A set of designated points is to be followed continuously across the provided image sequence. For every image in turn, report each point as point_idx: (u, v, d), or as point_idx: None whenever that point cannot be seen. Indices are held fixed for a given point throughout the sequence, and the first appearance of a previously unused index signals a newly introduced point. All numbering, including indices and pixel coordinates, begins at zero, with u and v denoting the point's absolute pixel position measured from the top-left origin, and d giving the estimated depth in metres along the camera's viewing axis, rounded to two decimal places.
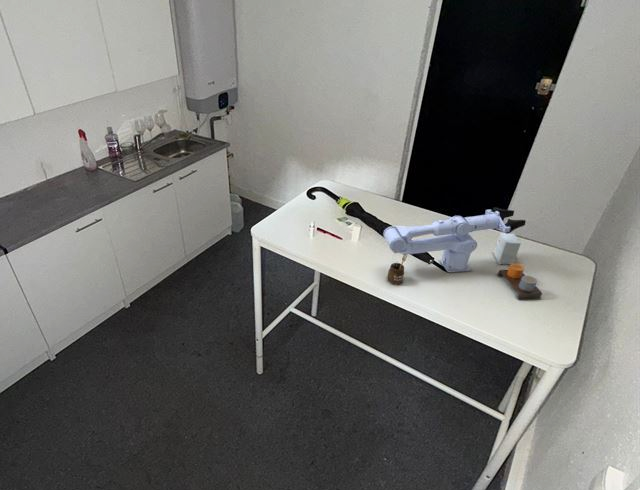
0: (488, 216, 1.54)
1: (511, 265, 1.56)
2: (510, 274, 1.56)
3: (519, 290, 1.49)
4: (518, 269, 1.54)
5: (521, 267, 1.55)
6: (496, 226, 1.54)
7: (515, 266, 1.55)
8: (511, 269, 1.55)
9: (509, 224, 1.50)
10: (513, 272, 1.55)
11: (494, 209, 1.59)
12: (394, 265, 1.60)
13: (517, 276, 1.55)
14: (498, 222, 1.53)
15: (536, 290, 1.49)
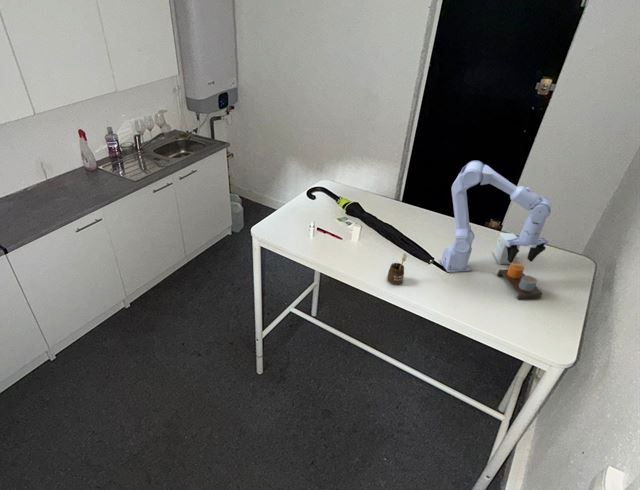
0: (533, 237, 1.44)
1: (511, 265, 1.56)
2: (510, 274, 1.56)
3: (519, 290, 1.49)
4: (518, 269, 1.54)
5: (521, 267, 1.55)
6: (519, 238, 1.49)
7: (515, 266, 1.55)
8: (511, 269, 1.55)
9: (512, 248, 1.48)
10: (513, 272, 1.55)
11: (542, 247, 1.48)
12: (394, 265, 1.60)
13: (517, 276, 1.55)
14: (521, 241, 1.47)
15: (536, 290, 1.49)
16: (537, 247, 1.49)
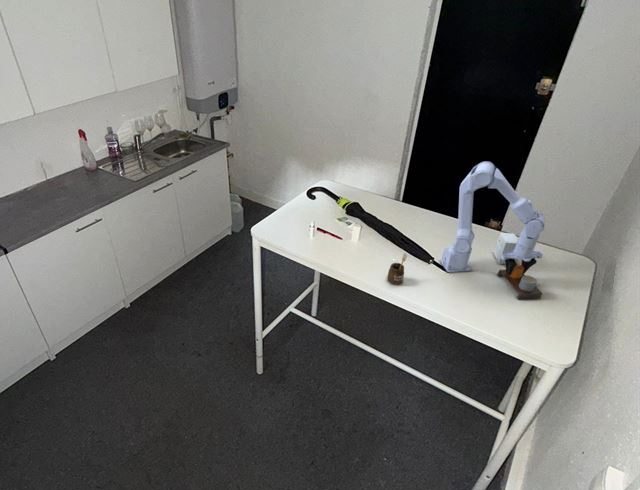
0: (528, 251, 1.48)
1: None
2: None
3: (519, 290, 1.49)
4: (518, 269, 1.54)
5: (521, 267, 1.55)
6: (514, 251, 1.52)
7: (515, 266, 1.55)
8: None
9: (510, 261, 1.52)
10: (513, 272, 1.55)
11: (533, 261, 1.51)
12: (394, 265, 1.60)
13: (517, 276, 1.55)
14: (516, 255, 1.51)
15: (536, 290, 1.49)
16: (528, 261, 1.52)
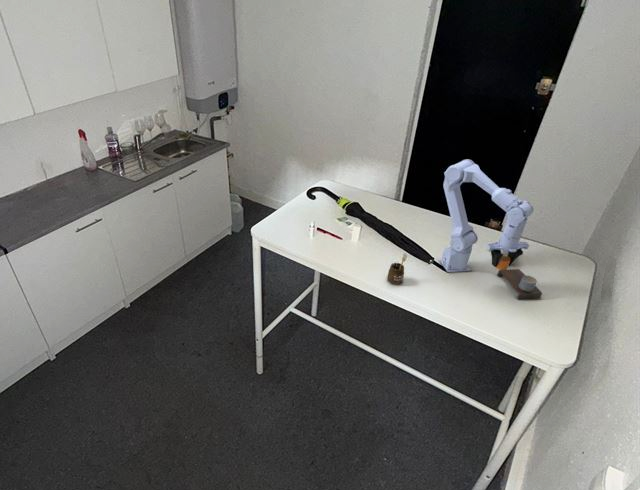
0: (513, 241, 1.43)
1: None
2: (496, 266, 1.51)
3: (519, 290, 1.49)
4: (504, 260, 1.49)
5: (507, 258, 1.50)
6: (500, 242, 1.47)
7: (501, 257, 1.50)
8: None
9: (496, 252, 1.47)
10: (499, 263, 1.50)
11: (520, 251, 1.46)
12: (394, 265, 1.60)
13: (503, 268, 1.50)
14: (502, 246, 1.46)
15: (536, 290, 1.49)
16: (515, 251, 1.47)
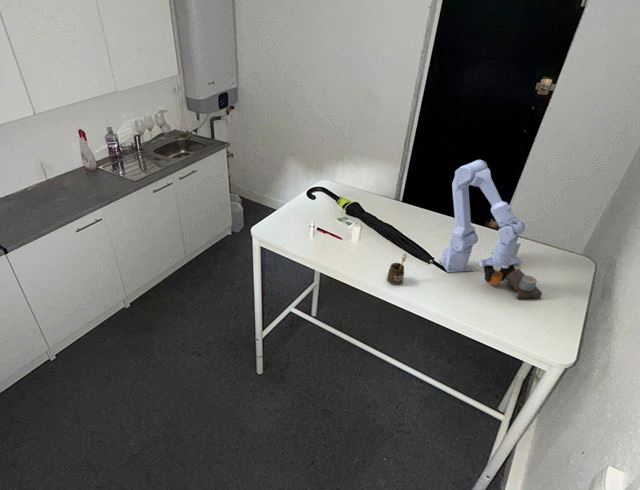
0: (505, 258, 1.47)
1: None
2: None
3: (519, 290, 1.49)
4: (497, 276, 1.53)
5: (500, 274, 1.54)
6: (492, 258, 1.51)
7: (494, 273, 1.54)
8: None
9: (488, 268, 1.51)
10: (492, 279, 1.54)
11: (512, 267, 1.50)
12: (394, 265, 1.60)
13: (496, 283, 1.54)
14: (494, 262, 1.50)
15: (536, 290, 1.49)
16: (507, 267, 1.51)
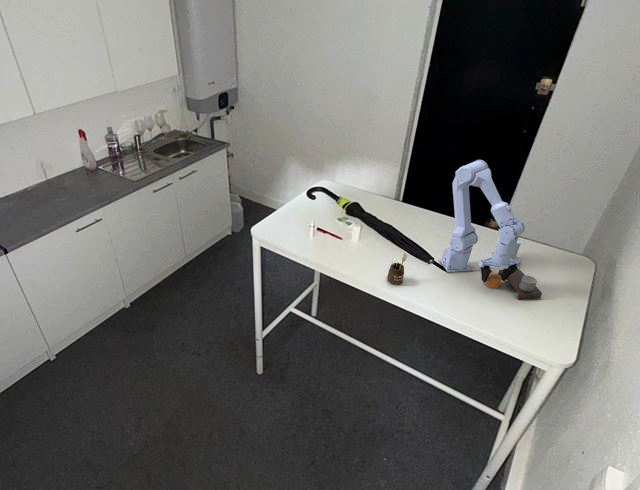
0: (505, 258, 1.47)
1: (489, 275, 1.56)
2: (487, 284, 1.56)
3: (519, 290, 1.49)
4: (496, 279, 1.53)
5: (499, 277, 1.54)
6: (492, 258, 1.51)
7: (493, 276, 1.55)
8: (489, 279, 1.55)
9: (485, 268, 1.51)
10: (491, 282, 1.54)
11: (514, 268, 1.50)
12: (394, 265, 1.60)
13: (495, 286, 1.55)
14: (494, 262, 1.50)
15: (536, 290, 1.49)
16: (509, 267, 1.51)
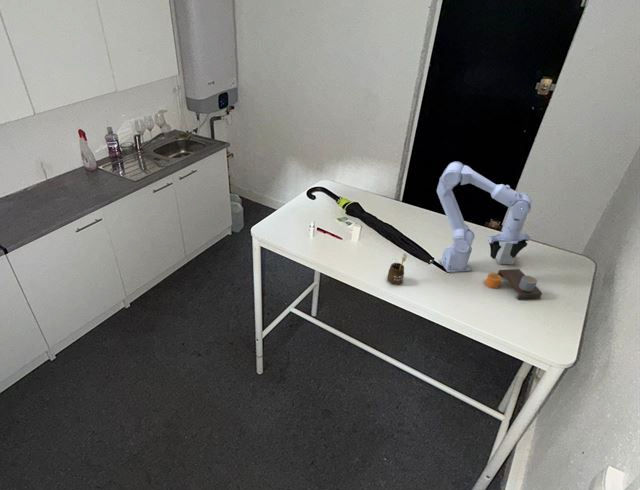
0: (515, 233, 1.47)
1: (489, 275, 1.56)
2: (487, 284, 1.56)
3: (519, 290, 1.49)
4: (496, 279, 1.53)
5: (499, 277, 1.54)
6: (501, 234, 1.51)
7: (493, 276, 1.55)
8: (489, 279, 1.55)
9: (495, 244, 1.51)
10: (491, 282, 1.54)
11: (524, 243, 1.50)
12: (394, 265, 1.60)
13: (495, 286, 1.55)
14: (504, 238, 1.50)
15: (536, 290, 1.49)
16: (519, 243, 1.51)
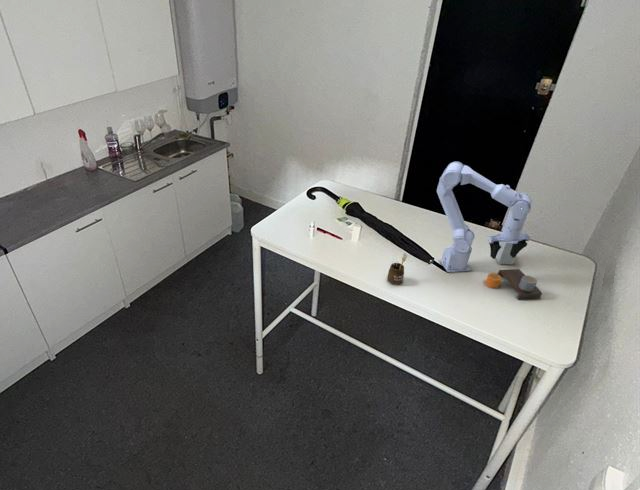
0: (515, 233, 1.47)
1: (489, 275, 1.56)
2: (487, 284, 1.56)
3: (519, 290, 1.49)
4: (496, 279, 1.53)
5: (499, 277, 1.54)
6: (501, 234, 1.51)
7: (493, 276, 1.55)
8: (489, 279, 1.55)
9: (495, 244, 1.51)
10: (491, 282, 1.54)
11: (524, 243, 1.50)
12: (394, 265, 1.60)
13: (495, 286, 1.55)
14: (504, 238, 1.50)
15: (536, 290, 1.49)
16: (519, 243, 1.51)
